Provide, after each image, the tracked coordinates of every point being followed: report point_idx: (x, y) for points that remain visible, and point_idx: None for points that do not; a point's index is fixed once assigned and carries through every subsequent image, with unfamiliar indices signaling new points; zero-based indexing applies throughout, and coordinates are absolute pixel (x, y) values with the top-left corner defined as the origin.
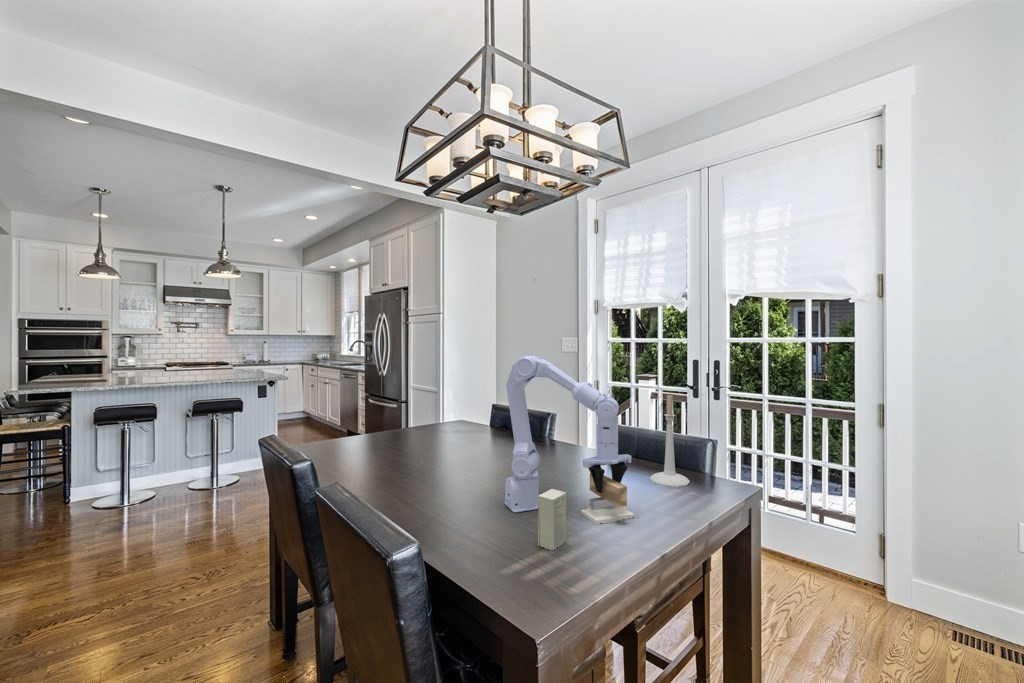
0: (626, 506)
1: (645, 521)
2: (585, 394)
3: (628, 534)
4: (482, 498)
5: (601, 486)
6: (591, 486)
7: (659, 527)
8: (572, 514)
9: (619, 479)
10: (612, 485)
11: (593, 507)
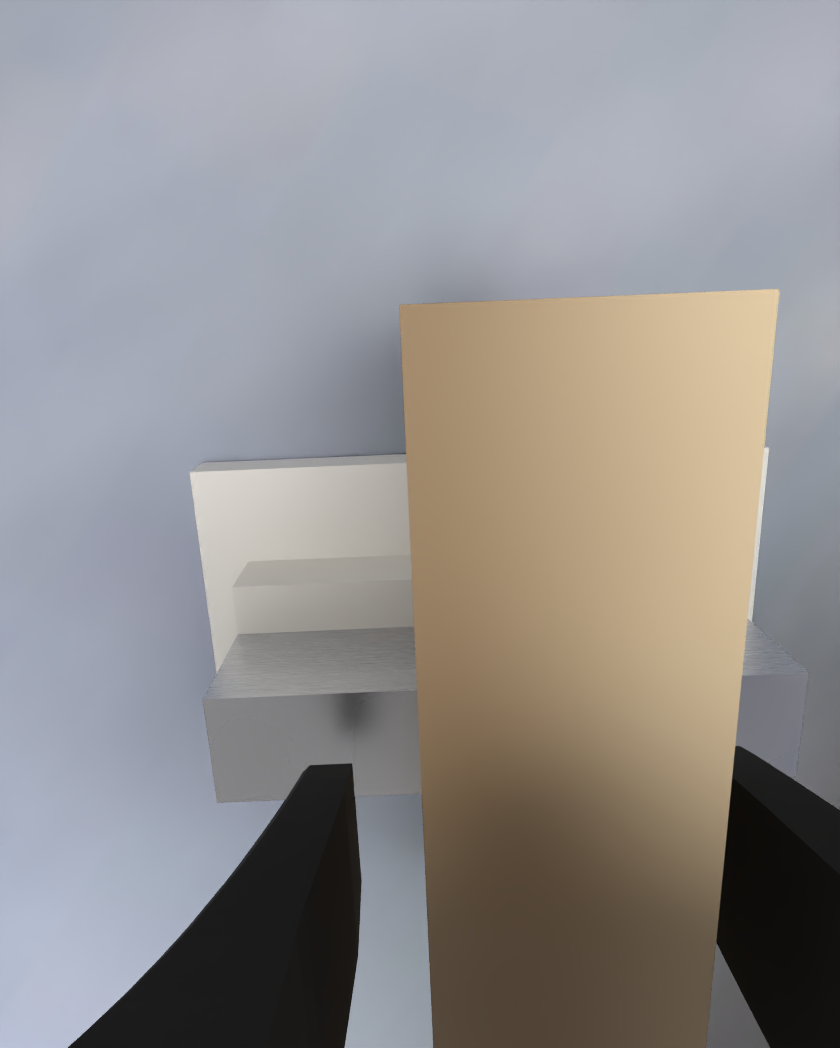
0: (234, 594)
1: (121, 322)
2: None
3: (562, 25)
4: None
5: (809, 814)
6: None
7: (37, 79)
8: (814, 763)
9: (274, 920)
10: (743, 599)
11: (757, 636)
